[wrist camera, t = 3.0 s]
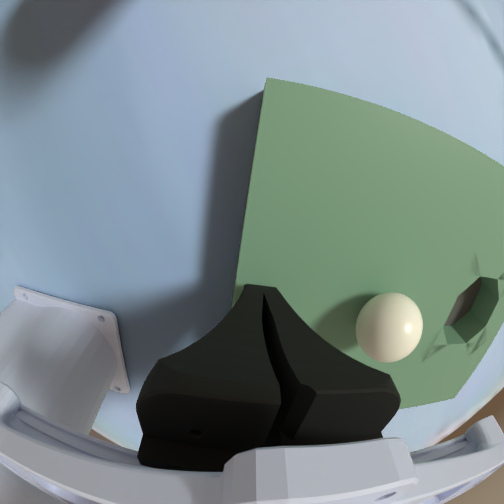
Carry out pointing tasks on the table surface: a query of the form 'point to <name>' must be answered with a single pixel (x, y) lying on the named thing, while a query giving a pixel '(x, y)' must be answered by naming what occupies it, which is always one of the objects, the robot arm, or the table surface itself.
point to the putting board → (376, 230)
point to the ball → (389, 327)
